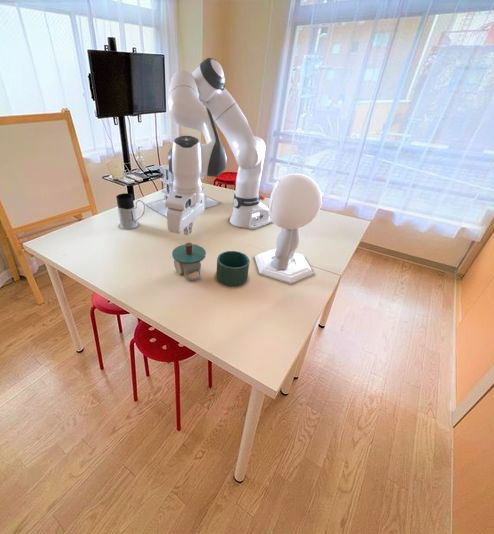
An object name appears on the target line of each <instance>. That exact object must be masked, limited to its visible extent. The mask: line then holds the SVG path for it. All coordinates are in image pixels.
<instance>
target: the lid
mask: <svg viewBox="0 0 494 534" xmlns="http://www.w3.org/2000/svg"><path fill="white" fill-rule="evenodd" d="M206 256H207V251H206V249H205V248H204V247H202V246H201V245H197V244H194V243H192V242H186V243H185V244H181V245H179V246H176V247H175V248H174V249H173V250H172V252H171V257H172V259H173V260H174V259H175V260H176V261H178V262H180V263H184V264H193V263H197V262H202V261H204V259H206Z"/></svg>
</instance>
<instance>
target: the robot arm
mask: <svg viewBox="0 0 494 534" xmlns="http://www.w3.org/2000/svg"><path fill="white" fill-rule="evenodd" d="M225 83H226V74H225V70H224V68H223V66H222V65H221V64H220V62H219V61H218V60H216V59H215V58H213V57H207V58H205V59H203V61H201V62H200V63H199V66H197V67H196V68H195V69H194V70H193V71H192V72H190V71H188V70H184V69H182V70H178V71H176V72H175V73H173V75H172V76H171V79H170V81H169V86H168V90H167V91H168V93H167V102H168V103H167V105H168V111H169V115H170V117H171V119H172V120H173V121H174V122H175V123H176V124H178V125H179V126H181V127H183V128H188V129H192V130H196V131H198V132H200V133H202V135H203V137H204V140H205V143H200V142H201V141H200V140H199V139H198V138H197V137H195V136H192V135H180V136H178V137H176V138H174V139H173V141H172V147H171V148H170V149H169V151H168V152H167V159H168V161H167V162H168V164H169V171H170V172H171V173H172V174H173V175H174V181H173V190H172V191H171V193H170V195H169V197H168V198H167V199H166V201H165V205H166V207H168V209H167V217H166V226H167V230H168V231H169V232H170V233H172V234H178V235H179V234H180V233H181V232H183V235H184V236H189V235H190V234H191V233H192V232H193V227H194V223H195V220H196V219H197V218H198V217H199V216H200V215H202V214H203V213H204V211H205V209H206V208H205V202H204V196H205V193H203V191H202V189H201V188H202V187H203V186H202V184H203V183H202V179H200V176H204V177H214V178H218V177H219V176H220V175H221V174H222V173H223V172H224V171H225V170H226V167H227V161H228V160H227V154H226V149H225V146H224V145H223V144H222V141H221V138H220V135H219V132H218V129H219V131H220V132H221V133H222V134H223V136H224V138H225V140H226V142H227V144H228V146H229V148H230V150H231V153H232V154H233V156H234V158H235V162H236V164H237V165H238V169H237V173H236V178H235V190H234V194H233V205H232V206H233V207H232V211H231V215H230V218H229V223H230V225H233V226H235V227H238V228H243V229H244V228H245V229H249V230H256V229H258V228H261V227H264V226H266V225H269V224H272V223H273V222H272V220H271V217H270V216H269V214H268V207H269V206H267V205H266V204H264V203H263V202H262V201H265V199H266V197H265V196H264V195H263V194H260V193H259V192H260V185H261V177H262V174H263V173H262V172H263V166H264V160H265V156H266V155H265V154H266V149H267V148H266V143H265V141H264V139H263V138H262V137H260V136H257V135H254V133H253V131H252V129H251V126H250V124H249V122H248V119H247V117H246V116H245V114H244V113H243V111H242V109H241V108H240V106H239V105H238V103H237V101H236V99H234V97H233V96H232V94H231V93H230V92H229V91H228V89H226V85H225ZM217 127H218V129H217Z"/></svg>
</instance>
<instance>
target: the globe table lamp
mask: <svg viewBox="0 0 494 534" xmlns="http://www.w3.org/2000/svg"><path fill="white" fill-rule="evenodd" d="M322 204H323V195H322V191H321V188H320V187H319V184H318V183H317V182H316V181H315V180H314V179H313V178H311V177H310V176H308V175H306V174H303V173H296V172H294V173H286V174H284V175H283V176H282V177H281V178H280V179H279V180H277V181H276V182H275V184H274V185H273V188H272V190H271V193H270V196H269V201H268V206H267V207H268V214H269V216H270V217H271V220H272V222H271V223H273V224H274V225H276V226H277V227H279V228H281V230H280V231H279V234H278V236H277V237H276V246H275V247H276V248H273V249H269V250H267V251H263V252H261V253H257V255H255V256H254V260H255V263H256V266H257V269H258V272H259V275H261V276H265V277H267V278H271V279H273V280H277V281H280V282H283V283H287V284H290V285H292V284H294V283H297V282H298V281H301V280H303V279H305V278H308V277H311V276H313V275H314V271H313V270H312V268H311V266H310V264H309V263H308V261H307V260H306V258H305V256H304V254H302V253H298V252H296V250H297V249H298V247H299V245H300V241H301V240H300V239H301V236H300V235H301V233H300V228H303V227H305V226H307V225H309V224H310V223H311V222H312V221H314V220H315V218H316V217H317V216H318V214H319V213H320V210H321V208H322Z"/></svg>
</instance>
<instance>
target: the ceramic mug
mask: <svg viewBox="0 0 494 534" xmlns="http://www.w3.org/2000/svg"><path fill="white" fill-rule="evenodd" d="M173 266H174V269H175V271H176V273H177V274H178V275H180V276H184V277H185V278H186V279H187V280H188V281H191V282H195V281H197V280H198V279H199V278H200V277H201V268H202V261H200V262H197V263H193V264H184V263H180V262H178V261H176V260H175V259H174V258H173ZM194 272H198V275H197V276H196V277H190V276H188V275H189V274H191V273H194Z"/></svg>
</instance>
